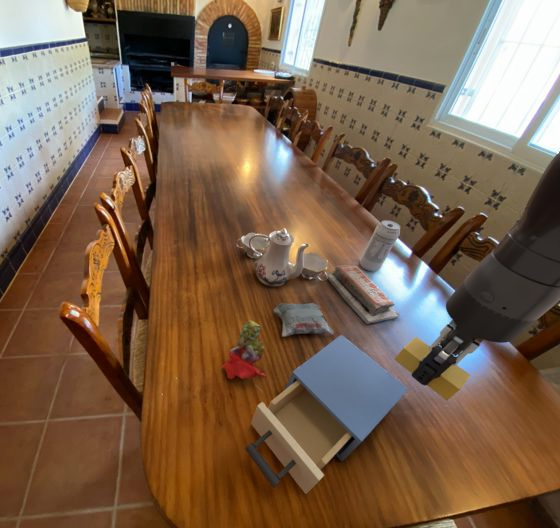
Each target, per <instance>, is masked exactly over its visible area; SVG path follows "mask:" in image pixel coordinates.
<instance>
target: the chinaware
mask: <svg viewBox="0 0 560 528" xmlns="http://www.w3.org/2000/svg"><path fill="white" fill-rule="evenodd" d="M295 239H296V238H295V237H294V235H293V234H290V233H289V232H287V229H286V228H285V227H284V228H282V229H281V230H274V231H272V232H270V233H269V235H266V234H264V233H256V232H248V233H247V234H246V235H242V236H241V237H240V238H238V239H237V240H236V243H235V245H236V247H237V248H239V249H243V252H245V253H246V256H248V257H249V258H250V259H255V261H254V269H255V274H256V277H257V279H258V281H259V282H260V283H262V284H263V285H265V286H267V287H272V288H276V287H281V286H283V285H285V284H286V282H287V281H288V280H293V279H296V278H298V277H300V275H301V276H302V278H303V279H306V280H309V281H310V280H312V279H314V280H319V281H321V282H326V281H328V279H327V278H328V276H327V275H328V273H327V272H326V271H327V270H328V266H329V261H328V260H327V259H326V258H324V257H322V256H321V255H320V254H319V253H316V252H308V253H307V252H304V251H305V249H306V248H309V247H310V244H308V243H303V244H301V245H300V246H299V247H298V249H297V252H296V258H295V263H291V261H290V251H291V247H292V245H293V244H294V243H295V241H296V240H295ZM239 241H240V242H241V243H242V246H240V245H238V242H239ZM265 250H266V251H265ZM321 274H322V275H325V279H324V280H323V279H321V278H320V277H319V276H320V275H321Z"/></svg>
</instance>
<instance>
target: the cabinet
mask: <svg viewBox="0 0 560 528" xmlns="http://www.w3.org/2000/svg"><path fill="white" fill-rule="evenodd" d="M297 380H298V381H299V382H300V383H301V384H302V385H303V386H304V387H305V388H306V389H307V390H308V391H309V392H310V393H311V394H312V395H313V396H314V397H315V399H316V400H317V401H318V402H319V403H320V404H321V405H322V406H323V407H324V408H325V409H326V410H327V411H328V412H329V413H330V414H331V415H332V416H333V417H334V418H335V419H336V420H337V421H338V422H339V423H340V424H341V425H342V426H343V427H344V428H345V429H346V430H347V431H348V432H349V433H350V434H351V435H352V437H351V438H350V439H349V440H348V441H347V442H346V443H345V444H344V446H343V447H342V448H341V449H340V450H339V451H338V452H337V453H336V454H335V455H334V456H335V457H337V459H338V460H340V462H341V463H342V462H344V460H345V459H347V458H348V456H350V455H351V454H352V452H353V451H355V449H356V448H357V447H359V446H360V444H361V443H363V442H364V440H365V439H367V437H368V436H369V435H370V433H371V432H372V431H373V430H374V429H376V427H377V425H378V424H379V423H380V422H382V420H383V419H384V418H385V417H386V416H387V414H388V413H389V412H390V411H391V410H392V409H393V407H394V406H395V405H396V404H397V403H398V402H399V401H400V400H401V399H402V397H404V395H405V394H406V393H407V392H408V391H409V388H408V386H406V385H405V384H403V383H402V382H401V381H400V380H399V379H397V378H396V377H395V376H394V375H392V374H391V373H390V372H389V371H388V370H387V369H385V368H384V367H382V366H381V365H380V364H378V362H376V361H375V360H374V359H372V358H371V357H370V356H369V355H368V354H366V353H365V352H364V351H363V350H361V349H360V348H359V347H357V346H356V345H355V344H354V343H353V342H351V341H350V340H349V339H347V338H346V337H345V336H344V335H343V334H340V335H339V336H337V337H336V338H335V339H334V340H332V341H331V342H330V343H328V344H327V345H326V346H324V347H323V348H321V350H319V351H318V352H316V353H315V354H314V355H312V356H311V357H310V358H309V359H307V360H306V361H305V362H303V363H302V364H301V365H299V366H298V367H297V368H295V369H294V370H293V371H292V372H291V375H290V377H289V379H288V381H287V382H286V386H285V388H284V390H286V389H287V388H288V387H289V386H291V385H292V384H293V383H295V382H296V381H297Z"/></svg>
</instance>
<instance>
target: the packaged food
mask: <svg viewBox="0 0 560 528" xmlns="http://www.w3.org/2000/svg"><path fill="white" fill-rule="evenodd" d="M320 309H321V307H320V306H319V305H318V304H316V303H314V302H310V303H285V302H281V303H279V304H277V305H275V307H274V308H273V313H274V314H276V315H277V316H278V317H279V318H280V319H281V322H282V329H281V330H282V331H281V337H283V338H286V337H289V336H295V335H301V334H302V335H303V334H306V335H307V334H317V335H334V334H335V331H334V329H332V327H331V326H330V325H329V323H328V322H327V321H326V320H325V316H324V314H323V312H322V311H321V310H320Z"/></svg>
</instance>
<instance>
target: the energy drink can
mask: <svg viewBox="0 0 560 528" xmlns="http://www.w3.org/2000/svg"><path fill="white" fill-rule="evenodd" d="M400 234H401V225H400V224H399V223H397V222H395V221H393V220H389V219H385V220H382V221H381V223H379V224H377V225H376V227H375V229H374V231H373V233H372V235H371V237H370V239H369V241H368V243H367V245H366V247H365V249H364V251H363V253H362V255H361V257H360V259H359V264H360V266H361V267H362V268H363V269H364V270H366V271H368V272H377V271H379V270H380V269H381V268H382V266H383V265H384V263H385V261H386V259H387V257H388V256H389V254H390V252H391V250H392V248H393V247H394V245H395V243H396V241H397V240H398V238H399V236H400Z"/></svg>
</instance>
